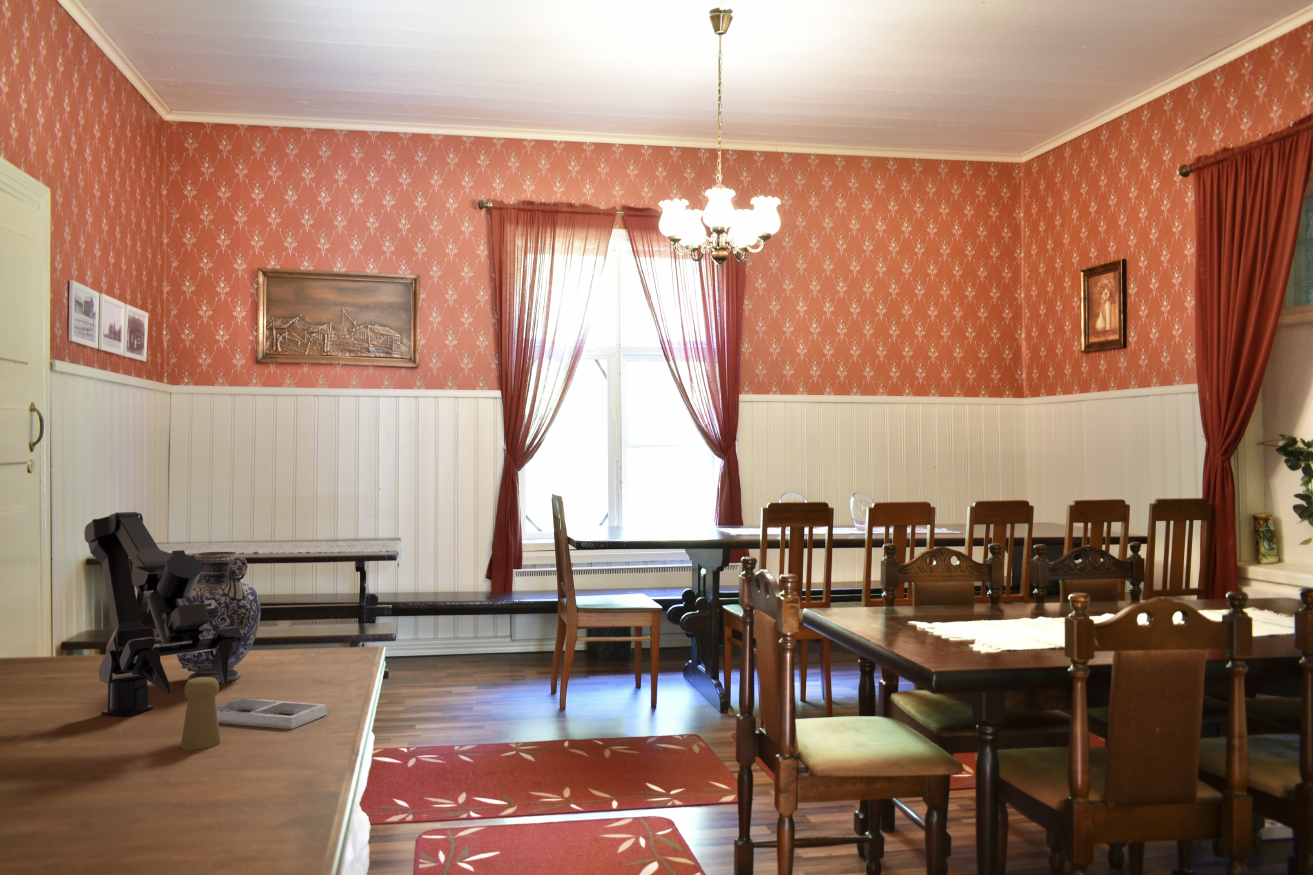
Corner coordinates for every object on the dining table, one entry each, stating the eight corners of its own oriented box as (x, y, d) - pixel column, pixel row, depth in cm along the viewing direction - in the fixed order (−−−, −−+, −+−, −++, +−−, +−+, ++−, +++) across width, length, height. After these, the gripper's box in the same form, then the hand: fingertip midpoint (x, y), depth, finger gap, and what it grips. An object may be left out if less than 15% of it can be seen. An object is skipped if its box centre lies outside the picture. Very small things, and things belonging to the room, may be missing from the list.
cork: (204, 750, 151) (205, 682, 152) (172, 748, 152) (173, 681, 153) (228, 740, 157) (229, 674, 158) (197, 738, 158) (198, 673, 159)
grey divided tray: (203, 721, 169) (203, 710, 169) (242, 708, 179) (242, 697, 179) (291, 729, 164) (291, 717, 164) (326, 714, 173) (326, 704, 174)
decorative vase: (144, 681, 203) (149, 552, 204) (222, 667, 218) (226, 548, 220) (202, 693, 191) (206, 557, 193) (280, 678, 207) (284, 552, 209)
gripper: (127, 591, 154) (152, 666, 146) (239, 581, 168) (268, 649, 160) (109, 634, 158) (132, 709, 151) (220, 621, 172) (246, 689, 165)
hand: (197, 687), depth 156 cm, fingers open, 9 cm apart
